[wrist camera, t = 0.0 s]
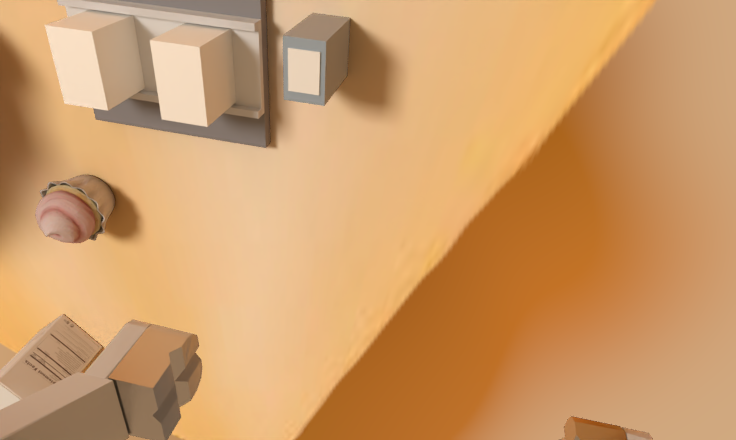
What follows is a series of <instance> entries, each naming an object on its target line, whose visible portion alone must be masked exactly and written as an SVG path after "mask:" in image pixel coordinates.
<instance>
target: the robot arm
mask: <svg viewBox="0 0 736 440" xmlns="http://www.w3.org/2000/svg"><path fill="white" fill-rule="evenodd" d="M198 347H199V342H198V337H197V335H194V334H191V333H187V332H183V331H179V330H175V329H171V328H167V327H162V326H158V325H154V324H150V323H146V322H141V321H137V320H131V321H130V322H128V323H126V324H125V325H124V326H123V328H122V329H121V330H120V331H119V332H118V334H117V335H116V336H115V337H114V338H113V339H112V341H111V342H110V343H109V344H108V345H107V347H106V348H105V349H104V350H103V351H102V353H101V354H100V355H99V356H98V357H97V359H96V360H95V361H94V362H93V363H92V364H91V366H90V367H89V368H88V369H87V370H86V372H85V373H81V372H77V373H75V374H73V375H71V376H69V377H67V378H65V379H63V380H61V381H59V382H56V383H54V384H52V385H50V386H48V387H46V388H44V389H42V390H40V391H38V392H36V393H34V394H32V395H30V396H28V397H26V398H24V399H22V400H20V401H18V402H15V403H13V404H11V405H9V406H7V407H5V408H3V409H1V410H0V440H126V439H128V438H129V435H132V436H136V437H141V438H145V439H150V440H168V438H169V436H170V435H171V433H172V431H173V430H174V428H175V426H176V425H177V423H178V421H179V420H180V418H181V414H180V408H179V407H181V406H182V405H184V404H186V403H188V402H189V401H191V399H192V398H193V396H194V394H195V392H196V391H197V388H198V385H199V382H200V379H201V375H202V362H201V359H200V358H199V356H198V355H197V354H196V353H195V352H196V350H197V349H198ZM564 432H565V437H564V438H562V439H560V440H653V438H652V437H651V435H650V434H649V433H646V432H641V431H637V430H633V429H628V428H623V427H620V426H617V425H612V424H607V423H602V422H597V421H592V420H587V419H582V418H577V417H573V416H571V417H570V418H568V419H567V422H566V424H565V426H564Z"/></svg>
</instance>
